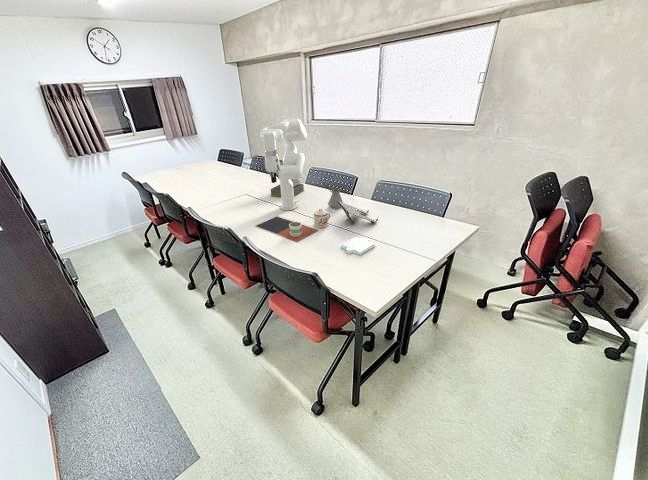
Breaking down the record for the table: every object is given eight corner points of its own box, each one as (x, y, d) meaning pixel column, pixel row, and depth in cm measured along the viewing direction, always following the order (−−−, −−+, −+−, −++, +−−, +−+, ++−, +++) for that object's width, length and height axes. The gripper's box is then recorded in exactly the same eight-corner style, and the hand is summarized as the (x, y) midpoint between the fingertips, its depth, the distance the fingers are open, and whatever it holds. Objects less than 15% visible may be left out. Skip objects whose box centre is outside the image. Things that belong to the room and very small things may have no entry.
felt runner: (276, 216, 205) (276, 216, 204) (318, 230, 181) (318, 230, 180) (255, 226, 193) (255, 225, 193) (296, 241, 169) (296, 241, 169)
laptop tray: (373, 233, 184) (380, 221, 180) (343, 223, 177) (350, 209, 173) (360, 220, 203) (366, 208, 199) (333, 210, 196) (338, 197, 192)
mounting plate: (357, 257, 149) (357, 254, 148) (338, 249, 158) (338, 246, 157) (377, 244, 159) (377, 241, 158) (358, 238, 168) (358, 235, 167)
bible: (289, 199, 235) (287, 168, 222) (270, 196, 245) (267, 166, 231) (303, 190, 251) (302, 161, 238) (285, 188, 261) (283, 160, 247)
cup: (297, 230, 182) (297, 220, 179) (304, 234, 176) (304, 224, 173) (287, 233, 179) (286, 223, 176) (293, 237, 173) (292, 228, 170)
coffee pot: (346, 207, 210) (347, 187, 202) (334, 211, 206) (334, 190, 198) (329, 200, 226) (329, 181, 218) (317, 203, 222) (317, 184, 214)
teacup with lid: (319, 229, 181) (318, 212, 175) (311, 225, 188) (310, 208, 182) (334, 224, 186) (334, 207, 180) (325, 220, 193) (325, 204, 187)
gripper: (283, 152, 174) (286, 182, 185) (267, 150, 183) (270, 179, 193) (274, 155, 170) (278, 185, 180) (258, 153, 179) (262, 182, 189)
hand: (274, 182), depth 187 cm, fingers closed
